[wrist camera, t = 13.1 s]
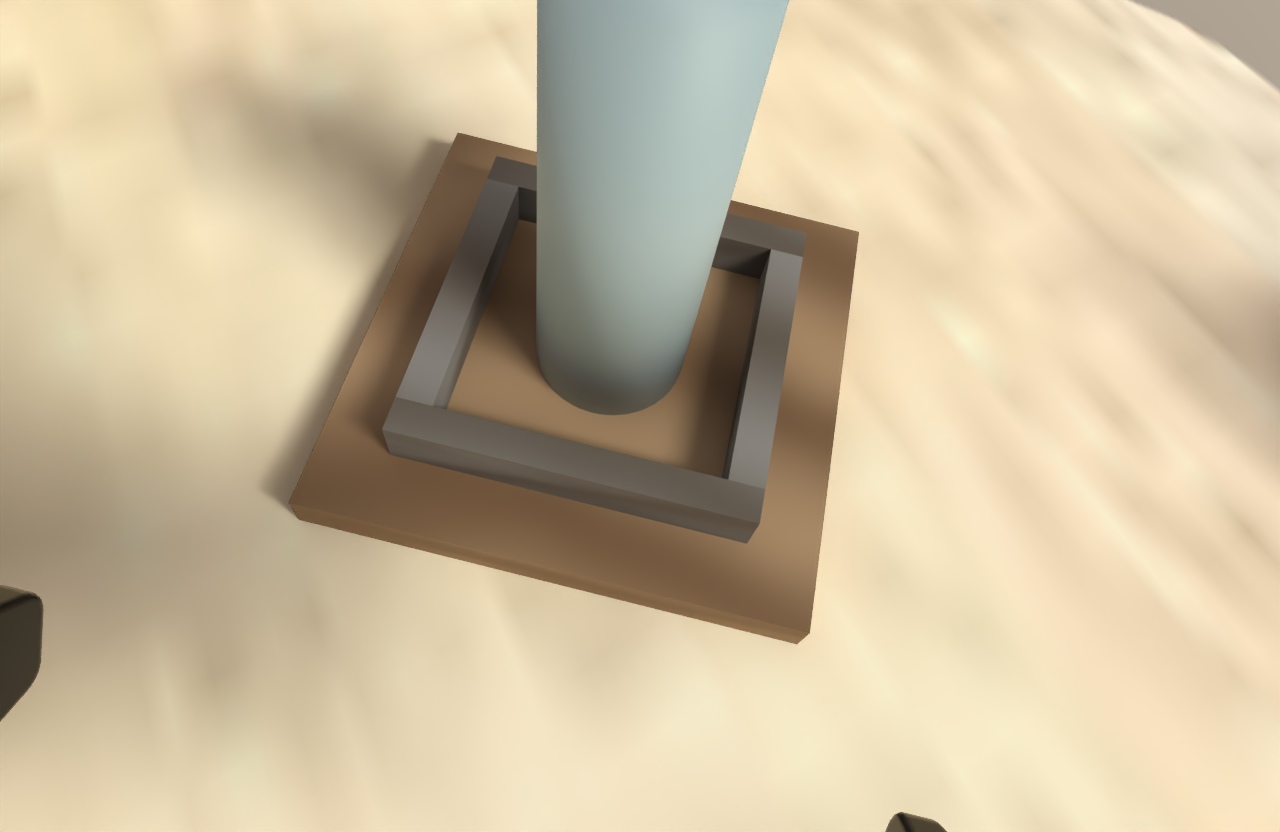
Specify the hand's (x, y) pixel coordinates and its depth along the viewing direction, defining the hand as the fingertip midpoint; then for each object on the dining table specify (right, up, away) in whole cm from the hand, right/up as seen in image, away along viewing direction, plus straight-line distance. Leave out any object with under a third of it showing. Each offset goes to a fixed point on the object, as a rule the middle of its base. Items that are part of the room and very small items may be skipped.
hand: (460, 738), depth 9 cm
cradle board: (+1, +5, +18) cm, 19 cm away
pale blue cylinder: (+1, +5, +17) cm, 18 cm away
